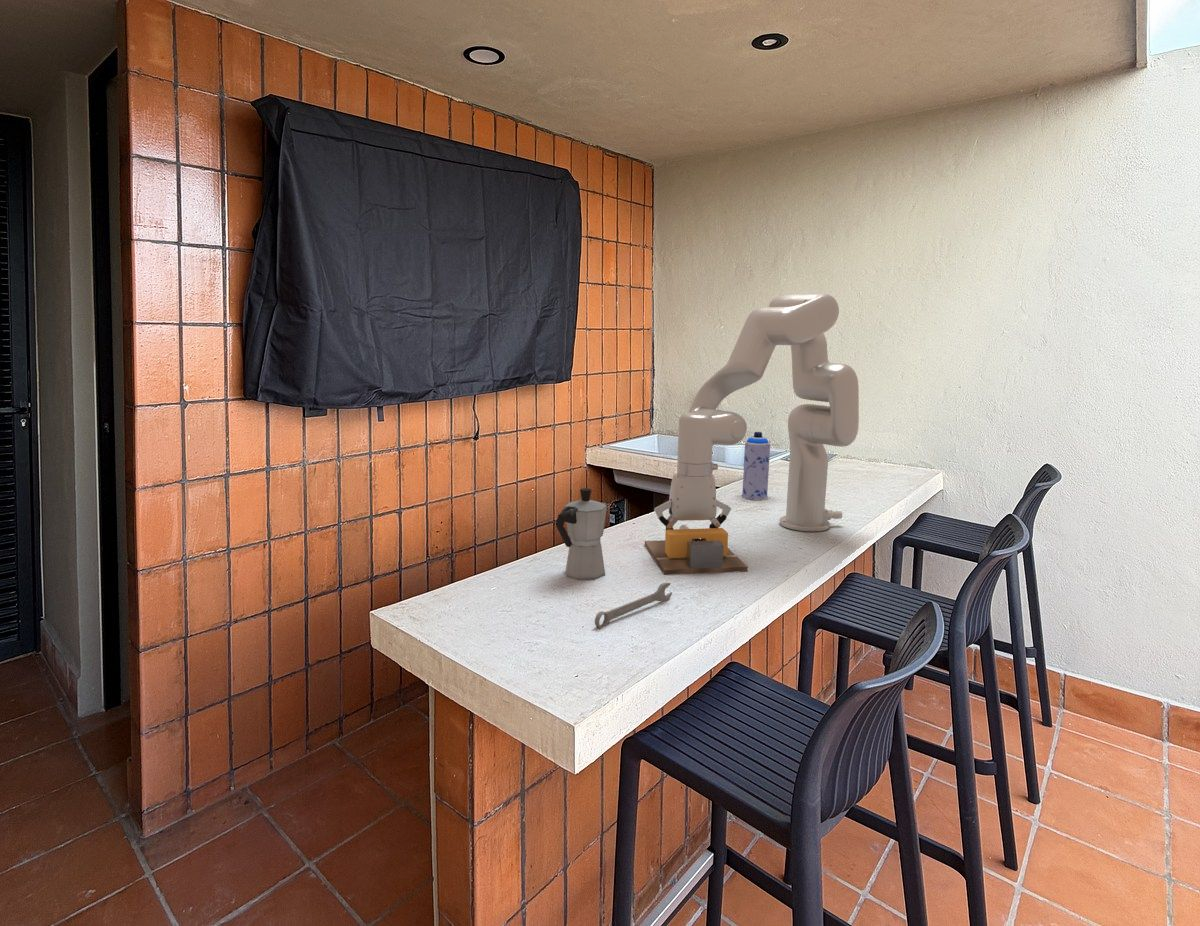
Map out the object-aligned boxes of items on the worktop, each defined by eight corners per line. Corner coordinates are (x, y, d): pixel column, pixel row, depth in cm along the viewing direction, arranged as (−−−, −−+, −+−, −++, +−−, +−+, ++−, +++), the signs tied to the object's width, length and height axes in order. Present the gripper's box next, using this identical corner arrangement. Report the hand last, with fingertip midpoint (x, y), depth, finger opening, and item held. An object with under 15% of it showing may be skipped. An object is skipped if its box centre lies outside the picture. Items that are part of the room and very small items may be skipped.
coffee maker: (588, 560, 153) (589, 480, 149) (620, 569, 147) (622, 486, 144) (541, 579, 141) (540, 492, 138) (573, 589, 136) (574, 500, 132)
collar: (721, 550, 156) (722, 527, 155) (727, 556, 153) (728, 533, 152) (664, 552, 155) (665, 529, 154) (669, 558, 151) (669, 534, 150)
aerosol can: (754, 493, 217) (758, 429, 213) (773, 498, 211) (777, 433, 207) (736, 496, 213) (739, 431, 209) (754, 501, 207) (758, 434, 203)
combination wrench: (598, 613, 117) (675, 581, 131) (592, 610, 118) (670, 579, 132) (598, 633, 118) (675, 600, 132) (593, 631, 119) (670, 598, 133)
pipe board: (718, 542, 167) (718, 538, 166) (747, 571, 147) (747, 566, 147) (644, 545, 164) (644, 540, 164) (664, 574, 145) (664, 569, 144)
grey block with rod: (697, 540, 165) (698, 520, 164) (722, 567, 146) (723, 544, 145) (668, 541, 164) (669, 520, 163) (690, 568, 145) (690, 545, 144)
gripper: (726, 465, 158) (723, 537, 162) (652, 466, 156) (650, 539, 159) (737, 472, 151) (733, 547, 154) (659, 473, 149) (657, 550, 152)
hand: (691, 543), depth 157 cm, fingers open, 9 cm apart
